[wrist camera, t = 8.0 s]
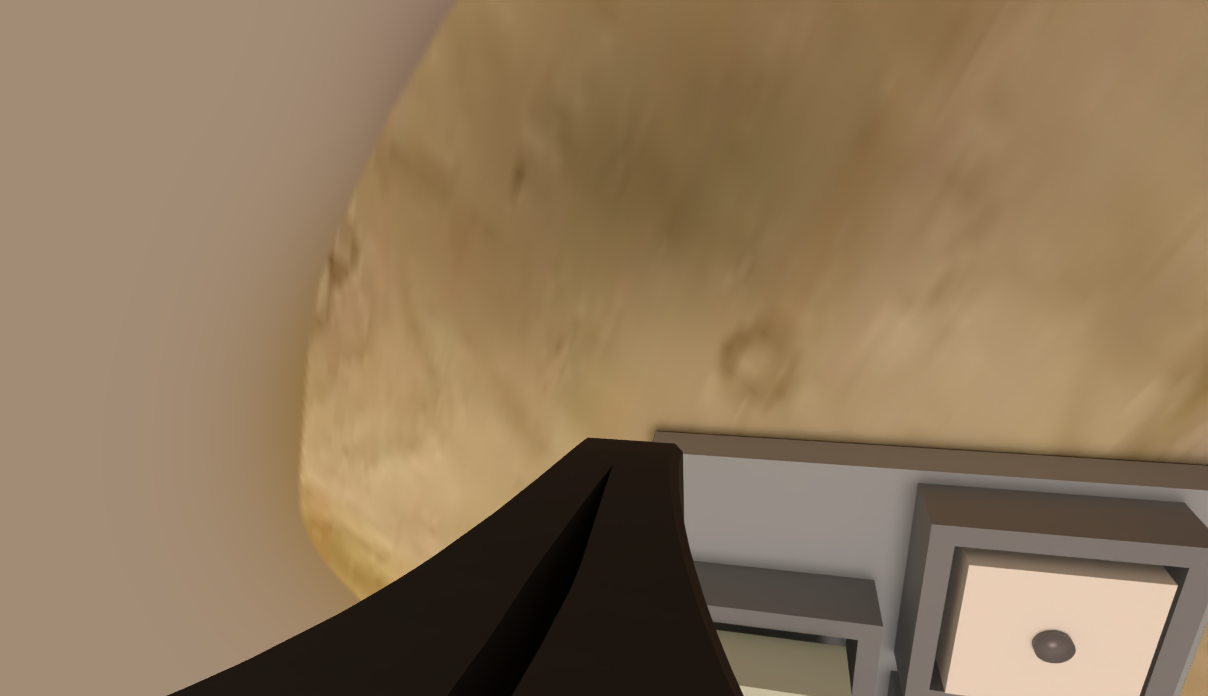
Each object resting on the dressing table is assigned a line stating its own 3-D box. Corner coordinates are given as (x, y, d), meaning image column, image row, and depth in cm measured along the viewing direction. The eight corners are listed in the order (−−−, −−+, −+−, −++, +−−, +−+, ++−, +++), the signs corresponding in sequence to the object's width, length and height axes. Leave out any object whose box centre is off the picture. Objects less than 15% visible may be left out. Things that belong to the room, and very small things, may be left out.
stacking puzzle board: (1226, 466, 17) (1309, 541, 15) (1103, 814, 23) (1147, 915, 20) (655, 431, 21) (638, 486, 18) (667, 740, 26) (655, 818, 24)
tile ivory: (1139, 535, 17) (1182, 591, 15) (1100, 662, 19) (1134, 725, 17) (952, 519, 18) (971, 570, 16) (931, 641, 20) (946, 699, 18)
